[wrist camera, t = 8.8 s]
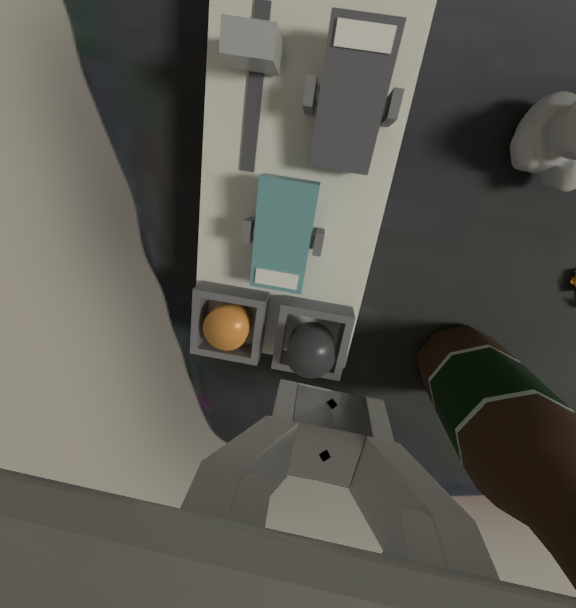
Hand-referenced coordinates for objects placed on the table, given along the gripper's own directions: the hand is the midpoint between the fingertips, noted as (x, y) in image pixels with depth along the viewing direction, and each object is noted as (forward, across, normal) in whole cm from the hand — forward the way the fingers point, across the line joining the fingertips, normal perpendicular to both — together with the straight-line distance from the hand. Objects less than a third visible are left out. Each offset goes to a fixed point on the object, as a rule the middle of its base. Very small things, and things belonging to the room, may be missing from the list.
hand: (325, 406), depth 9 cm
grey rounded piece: (+22, -14, -10) cm, 28 cm away
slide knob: (+17, +7, -12) cm, 23 cm away
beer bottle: (+22, -14, +8) cm, 27 cm away
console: (+22, +4, -4) cm, 22 cm away
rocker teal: (+16, +4, -2) cm, 16 cm away
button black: (+15, 0, +6) cm, 17 cm away
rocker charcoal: (+16, +1, -10) cm, 19 cm away
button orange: (+17, +7, +7) cm, 20 cm away
